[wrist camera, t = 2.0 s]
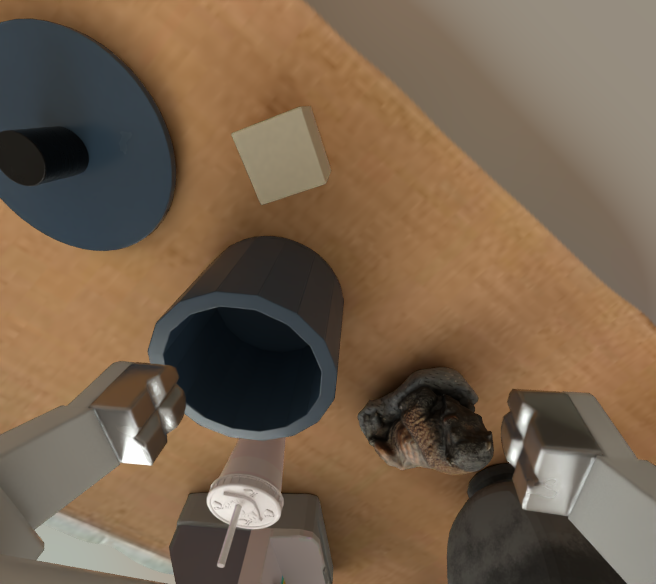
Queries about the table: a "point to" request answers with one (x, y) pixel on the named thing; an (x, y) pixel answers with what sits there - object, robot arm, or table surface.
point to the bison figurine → (429, 424)
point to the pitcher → (518, 540)
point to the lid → (79, 139)
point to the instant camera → (253, 546)
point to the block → (283, 154)
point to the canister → (256, 340)
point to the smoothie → (249, 488)
